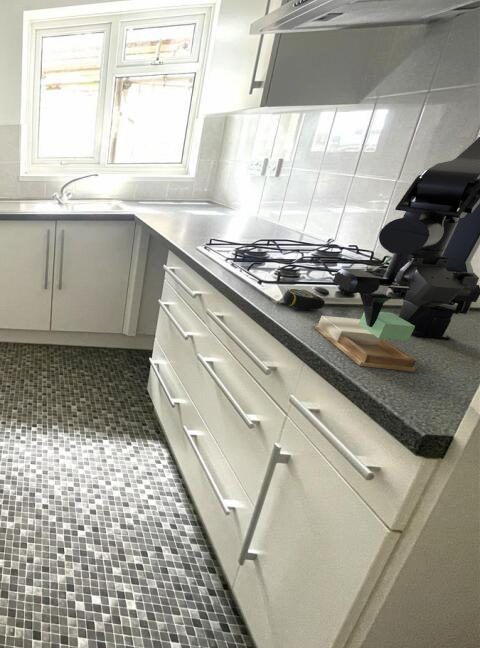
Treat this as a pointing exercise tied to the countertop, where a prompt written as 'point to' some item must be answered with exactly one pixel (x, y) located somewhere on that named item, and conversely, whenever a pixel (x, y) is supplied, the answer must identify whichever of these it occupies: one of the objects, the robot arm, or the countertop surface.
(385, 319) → the green rectangular block
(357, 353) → the frame
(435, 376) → the countertop surface
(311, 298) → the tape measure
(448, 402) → the countertop surface
